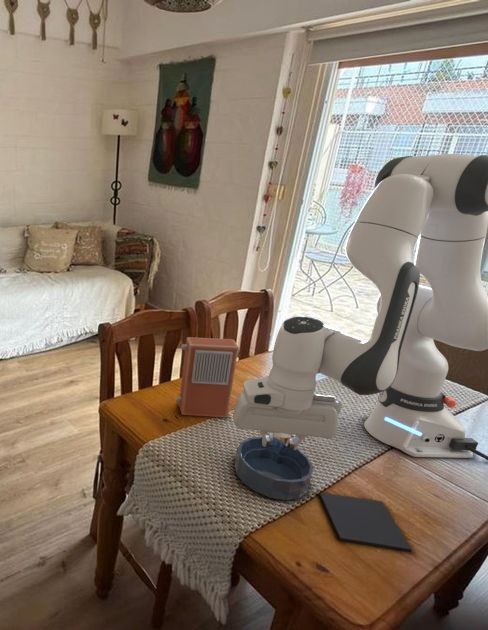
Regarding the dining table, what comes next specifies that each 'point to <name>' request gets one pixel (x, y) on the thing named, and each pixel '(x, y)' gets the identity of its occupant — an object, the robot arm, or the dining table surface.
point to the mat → (363, 522)
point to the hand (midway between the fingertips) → (278, 446)
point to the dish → (273, 471)
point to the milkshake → (278, 447)
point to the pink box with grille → (207, 376)
